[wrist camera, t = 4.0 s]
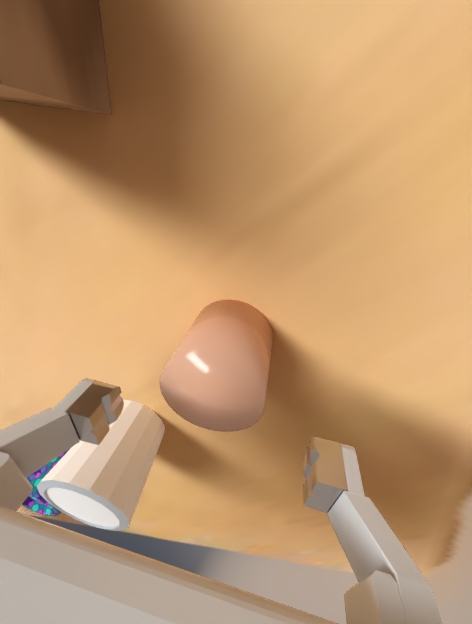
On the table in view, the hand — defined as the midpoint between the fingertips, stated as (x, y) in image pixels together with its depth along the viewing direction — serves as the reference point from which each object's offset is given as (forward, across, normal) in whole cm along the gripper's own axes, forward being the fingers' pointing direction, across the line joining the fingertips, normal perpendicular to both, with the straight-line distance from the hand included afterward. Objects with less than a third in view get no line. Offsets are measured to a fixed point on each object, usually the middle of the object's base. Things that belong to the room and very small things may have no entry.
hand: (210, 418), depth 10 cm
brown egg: (+6, 0, 0) cm, 6 cm away
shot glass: (+6, +8, +12) cm, 16 cm away
